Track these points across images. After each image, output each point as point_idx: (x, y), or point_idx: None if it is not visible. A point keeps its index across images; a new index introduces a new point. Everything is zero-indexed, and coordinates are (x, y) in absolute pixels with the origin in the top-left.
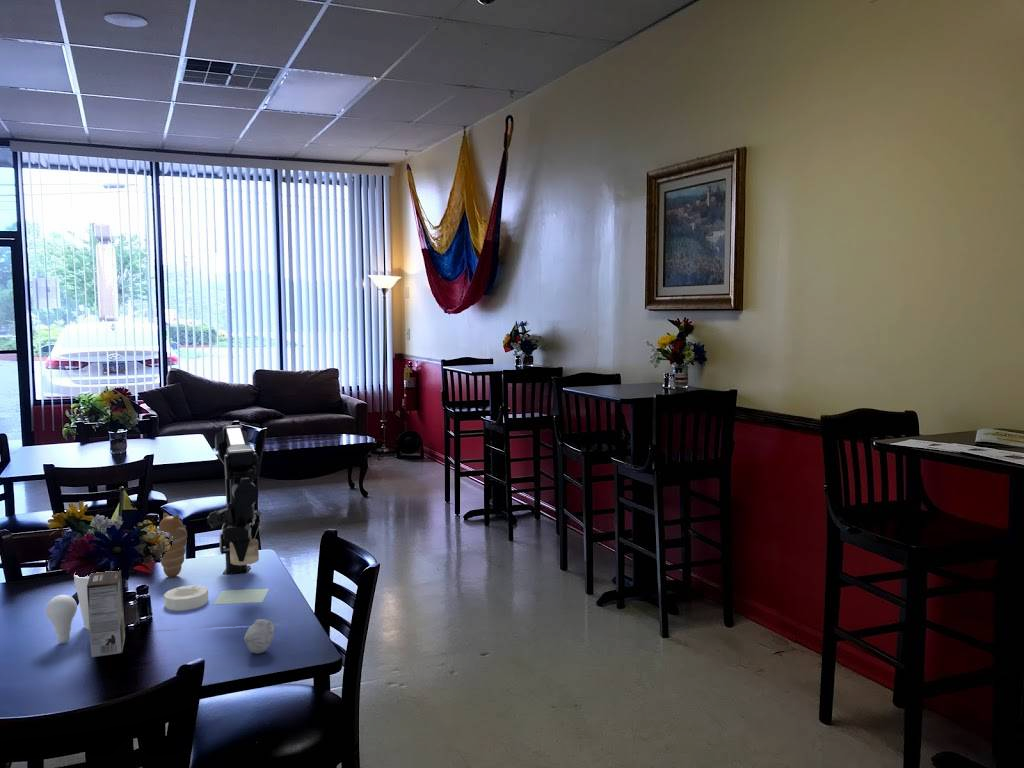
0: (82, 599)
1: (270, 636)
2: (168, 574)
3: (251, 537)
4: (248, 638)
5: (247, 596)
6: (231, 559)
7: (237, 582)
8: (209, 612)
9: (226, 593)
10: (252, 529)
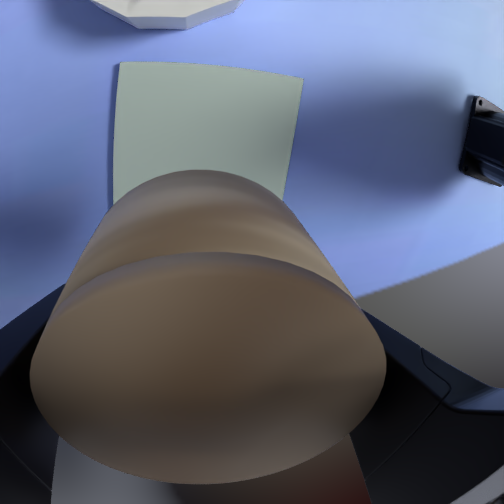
0: None
1: None
2: None
3: (365, 433)
4: None
5: None
6: (118, 207)
7: (399, 138)
8: (52, 69)
9: (258, 97)
10: (396, 500)
